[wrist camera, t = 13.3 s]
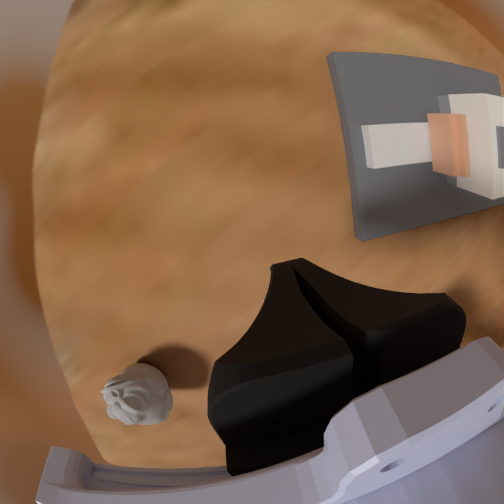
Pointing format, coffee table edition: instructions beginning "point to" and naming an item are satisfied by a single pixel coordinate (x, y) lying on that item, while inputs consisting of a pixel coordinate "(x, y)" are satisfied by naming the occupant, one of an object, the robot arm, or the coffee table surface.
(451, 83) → the rail board
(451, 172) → the rail clip
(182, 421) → the coffee table surface
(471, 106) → the block
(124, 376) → the grey sculpted head
